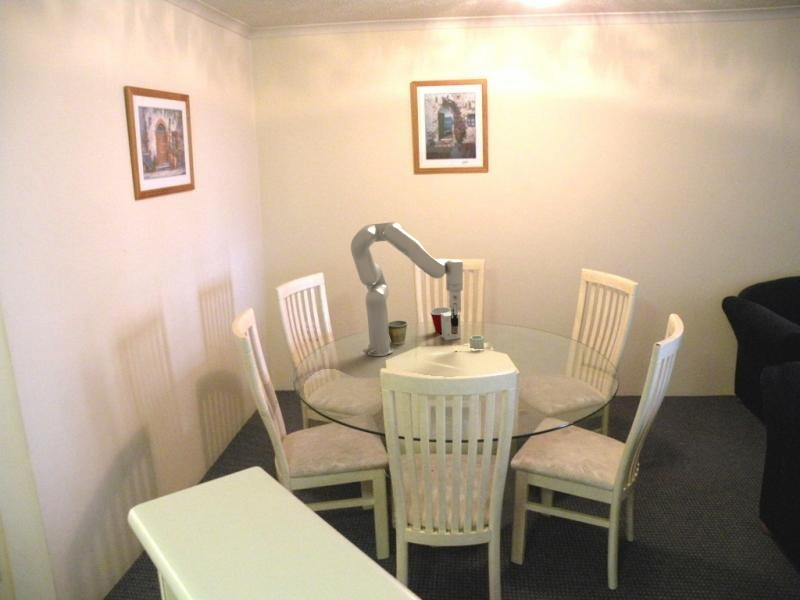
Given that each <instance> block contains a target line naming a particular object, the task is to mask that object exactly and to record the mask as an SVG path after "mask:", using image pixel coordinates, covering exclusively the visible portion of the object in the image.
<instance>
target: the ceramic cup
mask: <svg viewBox="0 0 800 600" xmlns="http://www.w3.org/2000/svg"><path fill="white" fill-rule="evenodd" d="M388 326H389V340H390V342H391V343H390V344H392V343H393V344H392V345H394V344H400V343H403V342H404V343H405V342H406V334H407V327H408V322H407V321H406V320H392V321H388ZM400 345H401V344H400Z"/></svg>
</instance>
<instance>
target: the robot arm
mask: <svg viewBox="0 0 800 600" xmlns="http://www.w3.org/2000/svg"><path fill="white" fill-rule="evenodd" d="M377 242H387V244H390V245H391V246H392V247H393V248H395V249H396V250H398V251H399V252H400V253H402V254H403V255H405V256H406V257H407V258H408V259H409V260H410V261H411V262H412V263H413V264H414V265H416V266H417V267H418V268H419V269H420V270H421V271H423V272H424V273H426V274H427V275H428V276H429V277H431V278H433V279H441V278H443V277H444V275H445V279H446V281H445V283H446V285H445V286H446V287H445V289H446V291H448V304H449V306H448V307H449V308H450V312H452V318H451V326H458V313H461V312H462V294H461V293H462V292H461V291H463V290H464V289H463V288H464V286H463V283H464V280H463V279H464V278H463V277H464V274H463V273H464V263H463V261H462V259H455V258H454V259H453V258H452V259H445V258H434V257H432V255H430V254H429V253H428V251H426V250H425V249H424V247H423V245H422V244H421V243H420V241H418V240H417V239H416V238H414V237H413V236H411V234H409V233H407V232H406V231H405V230H403V227H402V226H401V224H400V223H398V222H394V221H392V222H383V223H382V222H381V223H369V224H366V225H365V226H363V227H362V228H360V229H359V230H358V231H357V232H356V234H355V235H354V236H353V238H352V240H351V242H350V251H351V252H350V253H351V255H352V259H353V261H354V265H355V268H356V270H357V274H358V278H359V281H360V282H361V283H362V285H364V286H366V289H367V293H366V294H365V307H366V315H367V325H368V327H367V328H368V339H369V344H368V347H367V348H365V349H363V351H362V352H363V354H367V355H369V356H371V357H385V356H389V355H391V354H393V353H394V348H393V347H392V346H391V343H390V342H391V340H390V336H389V326H388V322H389V314H388V307H387V306H388V305H387V300H388V297H389V294H390V293H389V288H388V285H387V282H386V279H385V276H384V273H383V271H382V268H381V266H380V265H378V263H376V262H374V258H373V255H372V253H371V251H370V250H371V249H370V247H371V246H372V245H373V244H374V243H377ZM453 310H454V311H453ZM453 313H454V314H453ZM392 352H393V353H392ZM390 353H391V354H390ZM388 354H389V355H388Z"/></svg>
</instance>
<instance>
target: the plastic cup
mask: <svg viewBox="0 0 800 600" xmlns="http://www.w3.org/2000/svg"><path fill="white" fill-rule="evenodd" d="M447 312H451V311H450V307H445V306H444V307H443V306H442V307H441V306H440V307H434V308H432V309H430V310H429V313H430V315H431V318H432V319H431V320H432V324H433V327H434V332H435V333H436V332H438V333H442V326H441V313H447ZM438 333H437V334H438Z"/></svg>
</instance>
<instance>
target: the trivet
mask: <svg viewBox="0 0 800 600" xmlns="http://www.w3.org/2000/svg"><path fill="white" fill-rule="evenodd" d="M456 345H468V346H470V342H467V343H453V344H452V346H456ZM483 349H488V350H491V351H494V347H493V345H492V343H491V341H488V342H485V341H484V348H483Z"/></svg>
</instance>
